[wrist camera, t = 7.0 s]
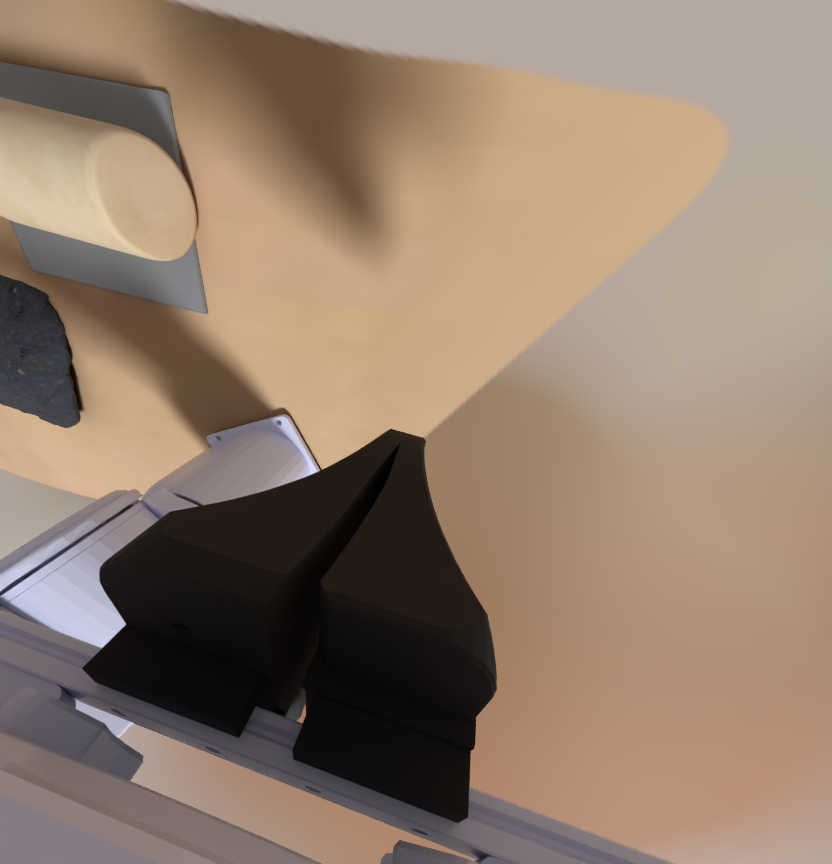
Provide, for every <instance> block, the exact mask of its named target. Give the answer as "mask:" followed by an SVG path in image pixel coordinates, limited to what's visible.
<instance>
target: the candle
mask: <svg viewBox="0 0 832 864" xmlns="http://www.w3.org/2000/svg"><path fill="white" fill-rule="evenodd" d="M0 216H2V217H4V218H6V219H9V220H11V221H14V222H16V223H20V224H23V225H27V226H30V227H34V228H37V229H41V230H45V231H48V232H52V233H55V234H59V235H63V236H66V237H70V238H73V239H77V240H81V241H84V242H88V243H92V244H95V245H99V246H102V247H106V248H110V249H113V250H117V251H120V252H124V253H128V254H131V255H135V256H139V257H143V258H147V259H151V260H157V261H171V260H175V259H178V258H180V257H182V256H183V255H184V254H185V253H187V251H188V250H189V249H190V247H191V246H192V244H193V242H194V239H195V235H196V230H197V213H196V207H195V203H194V199H193V196H192V193H191V190H190V188H189V185H188V183H187V181H186V179H185V177H184V175H183V174H182V172H181V170H180V169H179V167H178V166H177V165H176V163H175V162H174V161H173V159H172V158H171V157H170V156H169V155H168V154H167V153H166V152H165V151H164V150H163V149H162V148H161V147H160V146H159V145H158V144H156V143H155V142H154V141H152V140H151V139H149V138H148V137H146V136H144V135H142V134H140V133H138V132H136V131H133V130H130V129H128V128H124V127H120V126H117V125H113V124H109V123H105V122H101V121H97V120H92V119H88V118H84V117H80V116H76V115H72V114H68V113H64V112H59V111H55V110H51V109H47V108H43V107H39V106H35V105H31V104H26V103H22V102H18V101H14V100H10V99H6V98H2V97H0Z"/></svg>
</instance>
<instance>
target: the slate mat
mask: <svg viewBox="0 0 832 864" xmlns="http://www.w3.org/2000/svg"><path fill="white" fill-rule="evenodd" d="M0 97H2V98H6V99H10V100H14V101H18V102H22V103H26V104H31V105H35V106H39V107H43V108H47V109H51V110H55V111H59V112H64V113H68V114H72V115H76V116H80V117H84V118H88V119H92V120H97V121H101V122H105V123H109V124H113V125H117V126H120V127H124V128H128V129H130V130H133V131H136V132H138V133H140V134H142V135H144V136H146V137H148V138H149V139H151V140H152V141H154V142H155V143H156V144H158V145H159V146H160V147H161V148H162V149H163V150H164V151H165V152H166V153H167V154H168V155H169V156H170V157H171V158H172V159H173V161H174V162H175V163H176V165H177V166H178V167H179V169H180V170H181V172H182V174H183V170H182V164H181V159H180V153H179V148H178V142H177V136H176V131H175V125H174V119H173V114H172V108H171V103H170V97H169V94H167V93H165V92H163V91H157V90H152V89H146V88H141V87H135V86H130V85H125V84H119V83H114V82H108V81H103V80H97V79H92V78H86V77H81V76H75V75H70V74H64V73H59V72H53V71H48V70H42V69H37V68H32V67H26V66H21V65H15V64H10V63H4V62H0ZM10 222H11V224H12V227H13V229H14V231H15V233H16V236H17V238H18V240H19V242H20V245H21V247H22V249H23V251H24V254H25V256H26V258H27V260H28V263H29V265H30V267H31V269H32V270H33V271H37V272H41V273H45V274H49V275H53V276H57V277H61V278H65V279H69V280H73V281H77V282H80V283H84V284H88V285H92V286H96V287H100V288H104V289H108V290H112V291H116V292H120V293H124V294H128V295H132V296H136V297H140V298H144V299H148V300H151V301H155V302H159V303H163V304H167V305H171V306H175V307H179V308H183V309H187V310H191V311H195V312H199V313H203V314H207V313H208V311H207V305H206V299H205V294H204V288H203V283H202V277H201V271H200V266H199V260H198V254H197V249H196V243H195V239H194V242H193V244H192V246H191V247H190V249H189V250H188V251H187V253H185V254H184V255H183V256H182V257H180V258H178V259H175V260H171V261H157V260H151V259H147V258H143V257H139V256H135V255H131V254H128V253H124V252H120V251H117V250H113V249H110V248H106V247H102V246H99V245H95V244H92V243H88V242H84V241H81V240H77V239H73V238H70V237H66V236H63V235H59V234H55V233H52V232H48V231H45V230H41V229H37V228H34V227H30V226H27V225H23V224H20V223H16V222H14V221H11V220H10Z"/></svg>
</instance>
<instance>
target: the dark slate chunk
mask: <svg viewBox="0 0 832 864" xmlns="http://www.w3.org/2000/svg"><path fill="white" fill-rule="evenodd" d="M70 363H71V359H70V354H69V351H68V347H67V341H66V337H65V329H64V325H63V324H62V322H61V321H60V319H59V316H58V314H57V312H56V310H55V309H54V308H53V306H52V305H51V304H50V302H49V300H48V295H47V294H45V293H44V292H42V291H40V290H38V289H36V288H33V287H31V286H29V285H27V284H25V283H23V282H21V281H18V280H13V279H11V278H7V277H4V276H2V275H0V404H2V405H5V406H9V407H12V408H15V409H18V410H20V411H22V412H24V413H29V414H33V415H36V416H39V418H40V419H42V420H45V421H47V422H50V423H52V424H54V425H59V426H61V427H64V428H69V427H72V426H74V425H76V424H77V423H79V421H80V412H79V408H78V405H77V397H76V394H75V392H74V389H73V388H74V383H73V381H72V378H71V375H70V370H69V366H70Z"/></svg>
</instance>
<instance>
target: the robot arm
mask: <svg viewBox="0 0 832 864" xmlns="http://www.w3.org/2000/svg"><path fill="white" fill-rule="evenodd" d="M279 421H281V423H280V422H279ZM206 439H207V441H208V443H209V444H210V446H211V447H210V448H208V449H207V450H205V451H204V452H202V453H201V454H199V455H198V456H196V457H195V458H193V459H192V460H190V461H189V462H187V463H186V464H184V465H182V466H181V467H179V468H178V469H176V470H175V471H173V472H172V473H170V474H169V475H167V476H166V477H164V478H163V479H161V480H160V481H158V482H157V483H155V484H154V485H153V486H152V487H150V488H149V489H148V490H147V492H146V493H145V494H144V496H143V495H142V494H141V493H140V492H139V491H138V490H136V489H132V490H130V491H128V490H116V491H113V492H111V493H109V494H107V495H106V496H104V497H102V498H100V499H98V500H97V501H95V502H93V503H92V504H90V505H88V506H86V507H85V508H83V509H81V510H80V511H78V512H76V513H75V514H73V515H71V516H70V517H68V518H66V519H65V520H63V521H61V522H60V523H58V524H56V525H55V526H53V527H52V528H50V529H48V530H47V531H45V532H43V533H42V534H40V535H39V536H37V537H36V538H34V539H32V540H31V541H29V542H28V543H26V544H24V545H23V546H21V547H20V548H18V549H17V550H15V551H13V552H12V553H11V554H9V555H7V556H6V557H4V558H3V559H1V560H0V864H321V863H319V862H317V861H315V860H312V859H310V858H308V857H305V856H303V855H301V854H299V853H297V852H294V851H292V850H290V849H288V848H285V847H283V846H281V845H278V844H276V843H274V842H272V841H270V840H267V839H265V838H263V837H261V836H258V835H256V834H254V833H252V832H249V831H247V830H244V829H242V828H240V827H238V826H235V825H233V824H230V823H228V822H226V821H224V820H221V819H219V818H217V817H214V816H211V815H210V814H207V813H205V812H203V811H200V810H198V809H196V808H193V807H191V806H188V805H186V804H184V803H181V802H179V801H177V800H174V799H172V798H169V797H167V796H165V795H162V794H160V793H158V792H155V791H153V790H150V789H148V788H146V787H143V786H141V785H138V784H136V783H133V782H131V781H130V780H131V779H132V777H133V776H134V774H135V773H136V771H137V769H138V768H139V767H140V766H141V764H142V762H143V755H141V754H140V753H138V752H137V751H135V750H134V749H132V748H131V747H129V746H128V745H126V744H125V743H124V742H122V741H121V740H120V739H119V737H120V736H121V735H122V734H123V733H124V732H125V731H126V730H127V728H128V727H129V726H130V725H133V724H134V723H135V724H137V725H140V726H142V727H145V728H147V729H150V730H152V731H155V732H158V733H160V734H162V735H165V736H167V737H170V738H172V739H175V740H177V741H180V742H183V743H185V744H187V745H190V746H192V747H195V748H197V749H200V750H203V751H205V752H208V753H210V754H213V755H215V756H218V757H220V758H223V759H225V760H228V761H230V762H233V763H235V764H238V765H240V766H243V767H246V768H248V769H250V770H253V771H256V772H258V773H260V774H263V775H266V776H268V777H271V778H273V779H275V780H278V781H281V782H283V783H286V784H288V785H291V786H293V787H296V788H298V789H301V790H303V791H306V792H308V793H311V794H313V795H316V796H318V797H321V798H323V799H326V800H328V801H331V802H333V803H336V804H338V805H341V806H344V807H346V808H349V809H351V810H354V811H356V812H359V813H361V814H364V815H366V816H369V817H371V818H374V819H376V820H379V821H381V822H384V823H386V824H389V825H391V826H394V827H396V828H399V829H402V830H404V831H406V832H409V833H412V834H414V835H416V836H419V837H421V838H424V839H427V840H429V841H432V842H434V843H437V844H439V845H442V846H444V847H447V848H449V849H452V850H454V851H457V852H459V853H462V854H464V855H467V856H469V857H472V858H474V859H477V860H476V861H472V860H469V859H466V858H463V857H460V856H456V855H453V854H449V853H445V852H442V851H438V850H434V849H431V848H427V847H423V846H420V845H416V844H412V843H408V842H405V841H401V840H399V842H397V843H396V845H395V846H394V849H393V853H388V854H385V855H384V856H383V858H382V859H381V864H674V863H671V862H669V861H666V860H664V859H661V858H658V857H656V856H653V855H651V854H648V853H645V852H643V851H639V850H637V849H635V848H632V847H629V846H626V845H624V844H621V843H619V842H616V841H613V840H611V839H608V838H605V837H603V836H600V835H597V834H595V833H592V832H589V831H587V830H584V829H581V828H579V827H576V826H573V825H571V824H568V823H565V822H563V821H560V820H557V819H555V818H552V817H549V816H547V815H544V814H542V813H539V812H536V811H533V810H530V809H528V808H526V807H523V806H520V805H517V804H515V803H512V802H510V801H507V800H504V799H502V798H499V797H496V796H493V795H491V794H488V793H486V792H483V791H480V790H478V789H475V788H472V787H470V786H469V781H470V753H471V750H473V749H474V746H475V733H476V717H477V715H478V714H479V713H480V712H481V711H482V710H483V708H484V707H485V706H486V705H487V704H488V703H489V701H490V700H491V699H492V698H493V696H494V694H495V692H496V690H497V688H496V687H497V685H496V679H497V675H496V663H495V655H494V648H493V642H492V636H491V630H490V626H489V621H488V616H487V613H486V612H485V610H484V609H483V607H482V605H481V604H480V602H479V601H478V599H477V597H476V596H475V594H474V592H473V591H472V589H471V587H470V586H469V584H468V582H467V581H466V579H465V577H464V575H463V573H462V572H461V570H460V568H459V566H458V564H457V562H456V560H455V558H454V556H453V554H452V552H451V549H450V547H449V545H448V543H447V541H446V539H445V537H444V534H443V532H442V529H441V527H440V524H439V521H438V519H437V516H436V513H435V510H434V507H433V503H432V500H431V496H430V492H429V487H428V483H427V478H426V470H425V461H424V447H425V443H426V441H425V439H424V438H422V437H418V436H415V435H411V434H407V433H404V432H400V431H396V430H393V429H390V430H388V431H386V432H385V433H383V434H382V435H381V436H379V437H378V438H376V439H375V440H373V441H372V442H370V443H369V444H367V445H366V446H364V447H363V448H361V449H359V450H358V451H356V452H355V453H353V454H351V455H350V456H348V457H346V458H344V459H342V460H340V461H339V462H337V463H335V464H333V465H331V466H329V467H327V468H325V469H323V470H321V471H320V469H319V468H318V466H317V464H316V462H315V460H314V459H313V457H312V455H311V453H310V452H309V450H308V448H307V446H306V445H305V443H304V441H303V439H302V438H301V436H300V434H299V432H298V431H297V429H296V427H295V425H294V424H293V422H292V420H291V418H290V417H289V416H288V415H286V414H282V415H278V416H275V417H271V418H267V419H264V420H260V421H256V422H253V423H249V424H245V425H242V426H238V427H234V428H231V429H227V430H223V431H220V432H216V433H212V434H210V435H208V436H207V437H206ZM141 496H143V497H142V499H141V501H139V500H138V498H140V497H141ZM305 703H306V717H305V719H304V722H303V724H302V723H300V722H297V720H298V719H299V718H300V717H301V714H302V711H303V708H304V706H305Z"/></svg>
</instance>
